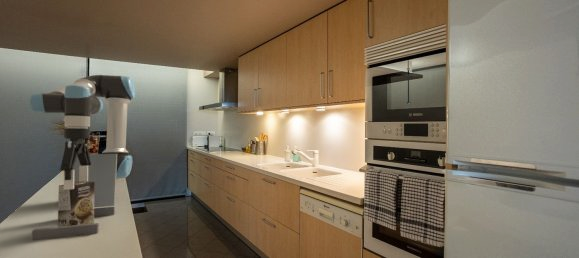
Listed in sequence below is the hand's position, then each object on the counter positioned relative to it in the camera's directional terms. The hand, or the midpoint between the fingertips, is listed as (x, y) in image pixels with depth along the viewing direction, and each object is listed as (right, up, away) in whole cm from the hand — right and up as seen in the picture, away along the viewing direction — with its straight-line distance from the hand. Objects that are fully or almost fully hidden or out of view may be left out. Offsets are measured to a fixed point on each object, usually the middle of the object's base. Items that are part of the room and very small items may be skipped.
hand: (76, 185), depth 101 cm
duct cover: (-5, -1, +14) cm, 14 cm away
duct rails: (-1, -15, +2) cm, 15 cm away
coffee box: (0, -15, 0) cm, 15 cm away
